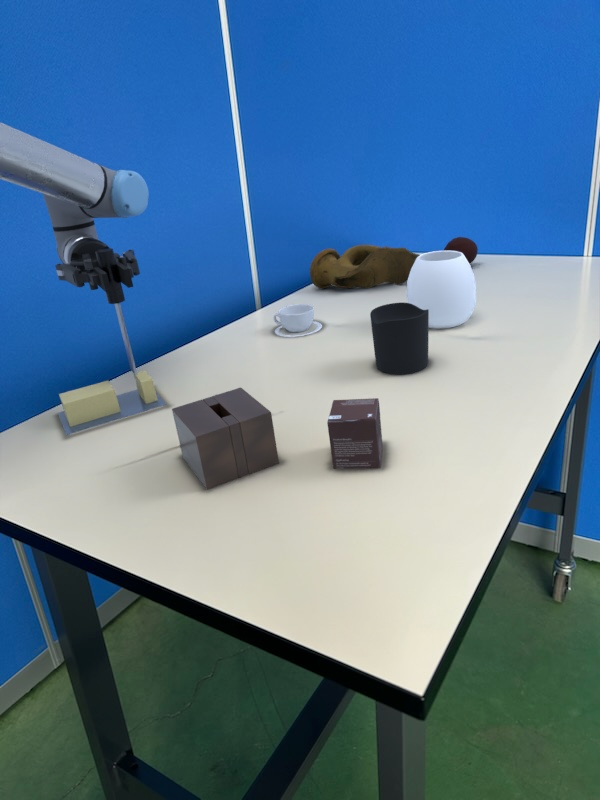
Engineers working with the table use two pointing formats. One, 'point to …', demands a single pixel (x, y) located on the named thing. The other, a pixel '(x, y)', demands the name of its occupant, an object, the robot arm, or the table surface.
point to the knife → (115, 295)
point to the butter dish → (128, 406)
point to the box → (355, 434)
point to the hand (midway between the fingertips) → (117, 280)
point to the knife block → (226, 437)
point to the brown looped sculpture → (361, 266)
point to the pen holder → (400, 338)
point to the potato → (463, 247)
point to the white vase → (443, 288)
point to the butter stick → (89, 403)
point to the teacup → (296, 319)
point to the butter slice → (145, 387)
